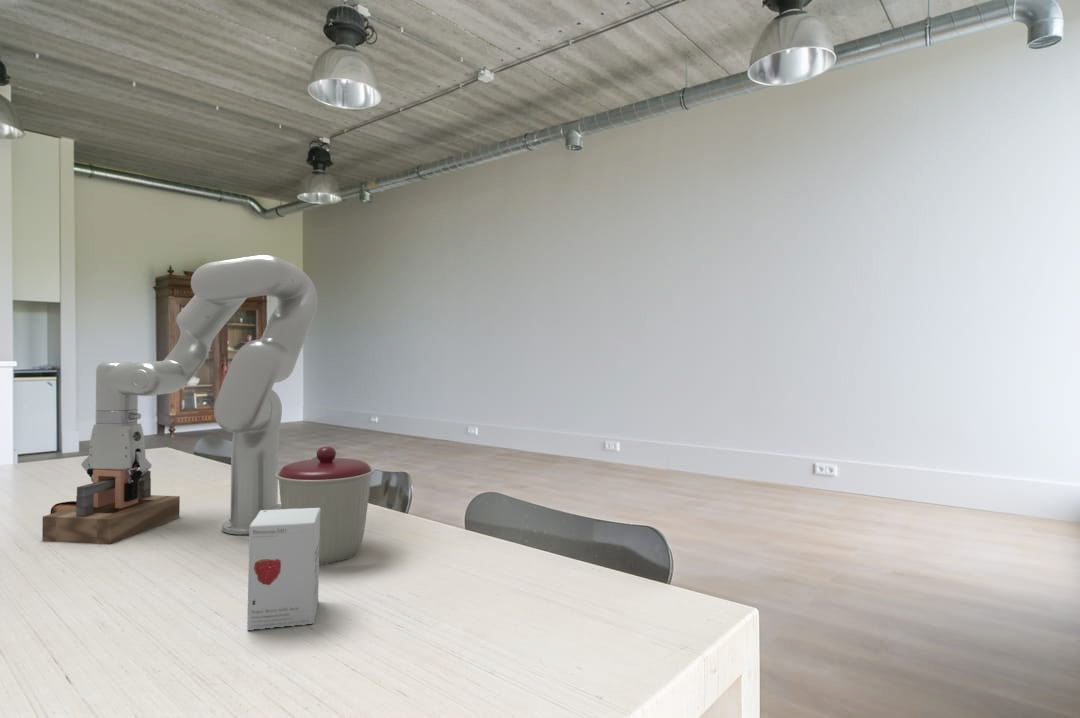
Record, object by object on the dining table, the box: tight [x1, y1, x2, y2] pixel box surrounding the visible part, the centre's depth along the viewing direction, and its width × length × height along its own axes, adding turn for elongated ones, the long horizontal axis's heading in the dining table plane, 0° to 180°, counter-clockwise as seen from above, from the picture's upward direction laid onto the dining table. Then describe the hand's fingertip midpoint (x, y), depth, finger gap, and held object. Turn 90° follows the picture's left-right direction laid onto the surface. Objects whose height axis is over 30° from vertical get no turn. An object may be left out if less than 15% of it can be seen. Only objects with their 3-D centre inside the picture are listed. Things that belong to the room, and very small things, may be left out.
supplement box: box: [246, 508, 321, 631], centre depth 89 cm, size 9×9×15 cm
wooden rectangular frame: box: [41, 470, 181, 545], centre depth 131 cm, size 15×20×11 cm
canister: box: [275, 446, 376, 565], centre depth 115 cm, size 18×18×21 cm
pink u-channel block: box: [92, 469, 138, 508], centre depth 131 cm, size 6×5×8 cm
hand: (116, 498), depth 131 cm, fingers closed on pink u-channel block, 6 cm apart
